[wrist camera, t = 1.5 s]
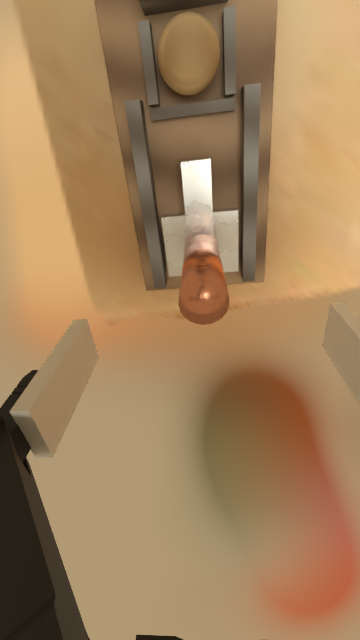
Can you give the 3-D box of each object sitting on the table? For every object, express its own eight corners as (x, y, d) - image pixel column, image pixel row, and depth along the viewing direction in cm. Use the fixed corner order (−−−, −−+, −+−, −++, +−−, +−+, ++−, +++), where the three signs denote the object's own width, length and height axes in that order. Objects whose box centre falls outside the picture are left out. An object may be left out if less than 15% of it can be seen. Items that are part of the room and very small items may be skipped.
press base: (96, -8, 22) (68, -49, 17) (275, -40, 21) (299, -94, 16) (148, 286, 34) (140, 309, 29) (262, 277, 33) (273, 300, 28)
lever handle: (155, 162, 26) (125, 179, 15) (236, 153, 26) (267, 163, 14) (169, 272, 32) (154, 344, 21) (237, 267, 31) (260, 338, 20)
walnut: (157, 29, 22) (149, 6, 18) (216, 19, 21) (220, -6, 18) (164, 102, 24) (158, 95, 20) (218, 94, 24) (222, 86, 20)
